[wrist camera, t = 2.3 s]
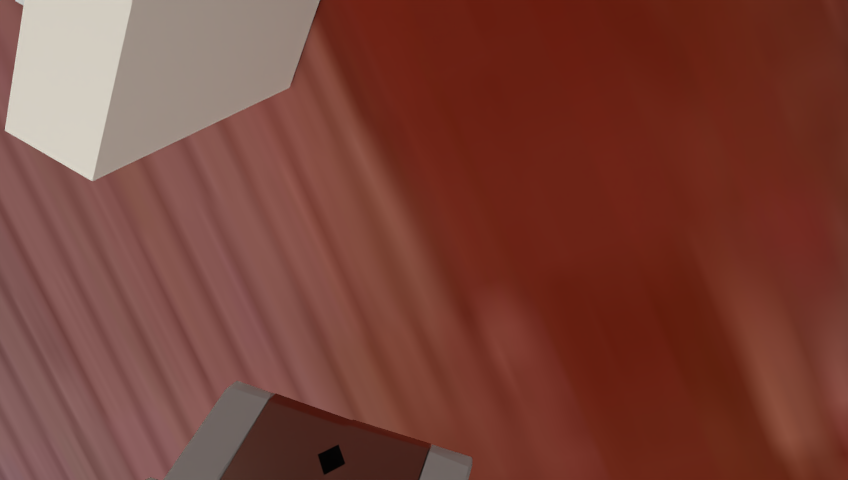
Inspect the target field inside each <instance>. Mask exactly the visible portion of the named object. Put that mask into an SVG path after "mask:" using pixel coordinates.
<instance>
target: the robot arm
mask: <svg viewBox="0 0 848 480" xmlns="http://www.w3.org/2000/svg"><path fill="white" fill-rule="evenodd" d="M430 446H431V444H430V443H427V442H423V441H420V440H417V439H414V438H411V437H407V436H404V435H401V434H398V433H394V432H391V431H388V430H385V429H382V428H378V427H375V426H372V425H369V424H366V423H362V422H359V421H356V420H349V419H346V418H344V417H341V416H338V415H335V414H332V413H329V412H327V411H324V410H321V409H318V408H315V407H312V406H310V405H307V404H304V403H301V402H298V401H295V400H293V399H290V398H287V397H284V396H281V395H278V394H274V393H271V392H268V391H265V390H262V389H259V388H257V387H254V386H251V385H248V384H245V383H242V382H239V381H236V382H234V383H233V384H232V385H231V386H229V387H228V388H227V389H226V390H225V391H224V393H223V394H222V396H221V397H220V399H219V400H218V401H217V403H216V404H215V406H214V407H213V409H212V410H211V412H210V413H209V414H208V416H207V417H206V419H205V420H204V422H203V423H202V425H201V426H200V427H199V429H198V430H197V432H196V433H195V435H194V436H193V438H192V439H191V440H190V442H189V443H188V445H187V446H186V448H185V449H184V451H183V452H182V453H181V455H180V456H179V458H178V459H177V461H176V462H175V464H174V465H173V466H172V468H171V469H170V471H169V472H168V474H167V475H166V477H165V478H164V479H163V480H468V478H469V475H470V471H471V467H472V457H469V456H466V455H463V454H460V453H457V452H454V451H451V450H447V449H444V448H441V447H438V446H435V445H432V446H431V448H430ZM146 480H158V479H154V478H151V477H150V478H148V479H146Z"/></svg>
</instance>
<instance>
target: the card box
mask: <svg viewBox="0 0 848 480" xmlns="http://www.w3.org/2000/svg"><path fill="white" fill-rule="evenodd" d="M319 1H320V0H25V1H24V7H23V14H22V20H21V27H20V34H19V40H18V47H17V53H16V60H15V67H14V73H13V80H12V86H11V93H10V100H9V106H8V113H7V120H6V126H5V131H7V132H8V133H10V134H12V135H14V136H15V137H17V138H19V139H20V140H22V141H24V142H26V143H27V144H29V145H31V146H32V147H34V148H36V149H38V150H39V151H41V152H43V153H45V154H46V155H48V156H50V157H51V158H53V159H55V160H57V161H58V162H60V163H62V164H63V165H65V166H67V167H69V168H70V169H72V170H74V171H76V172H77V173H79V174H81V175H82V176H84V177H86V178H88V179H89V180H91V181H94V180H96V179H98V178H100V177H102V176H105V175H107V174H109V173H111V172H113V171H115V170H117V169H119V168H121V167H123V166H126V165H128V164H130V163H132V162H134V161H136V160H138V159H140V158H142V157H145V156H147V155H149V154H151V153H153V152H155V151H157V150H159V149H161V148H163V147H166V146H168V145H170V144H172V143H174V142H176V141H178V140H180V139H182V138H184V137H187V136H189V135H191V134H193V133H195V132H197V131H199V130H201V129H203V128H206V127H208V126H210V125H212V124H214V123H216V122H218V121H220V120H222V119H224V118H227V117H229V116H231V115H233V114H235V113H237V112H239V111H241V110H243V109H245V108H248V107H250V106H252V105H254V104H256V103H258V102H260V101H262V100H264V99H267V98H269V97H271V96H273V95H275V94H277V93H279V92H281V91H283V90H285V89H288V88H290V85H291V82H292V79H293V76H294V73H295V70H296V68H297V65H298V62H299V59H300V56H301V53H302V50H303V47H304V44H305V41H306V39H307V36H308V33H309V30H310V27H311V24H312V21H313V18H314V15H315V13H316V10H317V7H318V4H319Z"/></svg>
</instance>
